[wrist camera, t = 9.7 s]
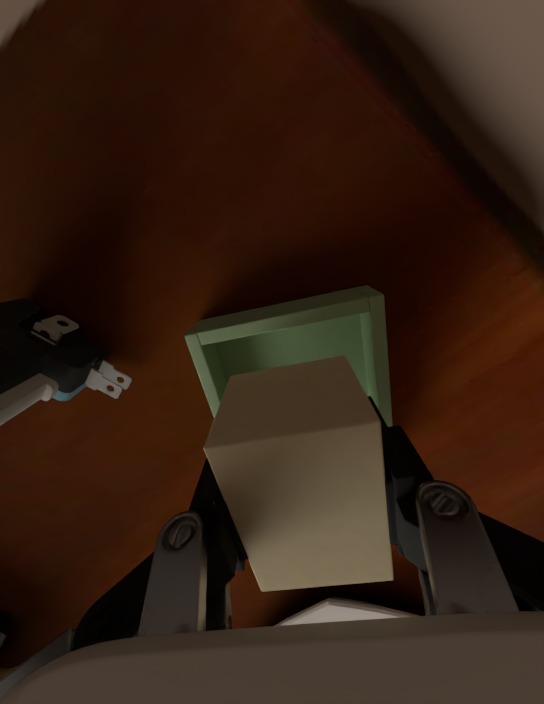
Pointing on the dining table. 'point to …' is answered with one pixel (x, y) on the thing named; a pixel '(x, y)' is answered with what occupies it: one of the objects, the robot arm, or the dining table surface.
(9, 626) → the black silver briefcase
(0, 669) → the chocolate bunny
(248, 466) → the beige block
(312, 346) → the pad frame
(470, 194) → the dining table surface
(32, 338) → the push button
